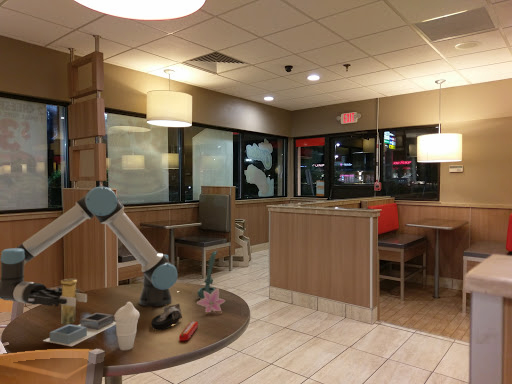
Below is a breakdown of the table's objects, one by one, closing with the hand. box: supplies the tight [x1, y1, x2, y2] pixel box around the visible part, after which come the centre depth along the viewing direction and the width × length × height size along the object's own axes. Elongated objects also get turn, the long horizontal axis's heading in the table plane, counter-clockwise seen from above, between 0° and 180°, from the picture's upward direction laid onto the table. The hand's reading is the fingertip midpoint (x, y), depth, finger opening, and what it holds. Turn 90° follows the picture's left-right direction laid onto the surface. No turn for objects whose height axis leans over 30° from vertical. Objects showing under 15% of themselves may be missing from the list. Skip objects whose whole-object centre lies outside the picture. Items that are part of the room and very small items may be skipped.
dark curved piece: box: [197, 250, 218, 299], centre depth 182 cm, size 14×10×25 cm
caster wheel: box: [151, 303, 183, 331], centre depth 146 cm, size 7×11×10 cm
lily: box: [196, 287, 226, 313], centre depth 164 cm, size 12×12×10 cm
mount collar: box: [80, 312, 114, 330], centre depth 143 cm, size 8×8×3 cm
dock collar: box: [49, 323, 87, 344], centre depth 130 cm, size 8×8×3 cm
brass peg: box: [60, 278, 78, 325], centre depth 130 cm, size 5×5×15 cm
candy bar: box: [178, 320, 199, 342], centre depth 138 cm, size 16×4×3 cm, turn 174°
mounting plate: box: [42, 321, 116, 347], centre depth 137 cm, size 24×13×1 cm, turn 162°
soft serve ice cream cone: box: [113, 301, 141, 351], centre depth 125 cm, size 8×8×16 cm
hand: (80, 300), depth 128 cm, fingers closed on brass peg, 4 cm apart
